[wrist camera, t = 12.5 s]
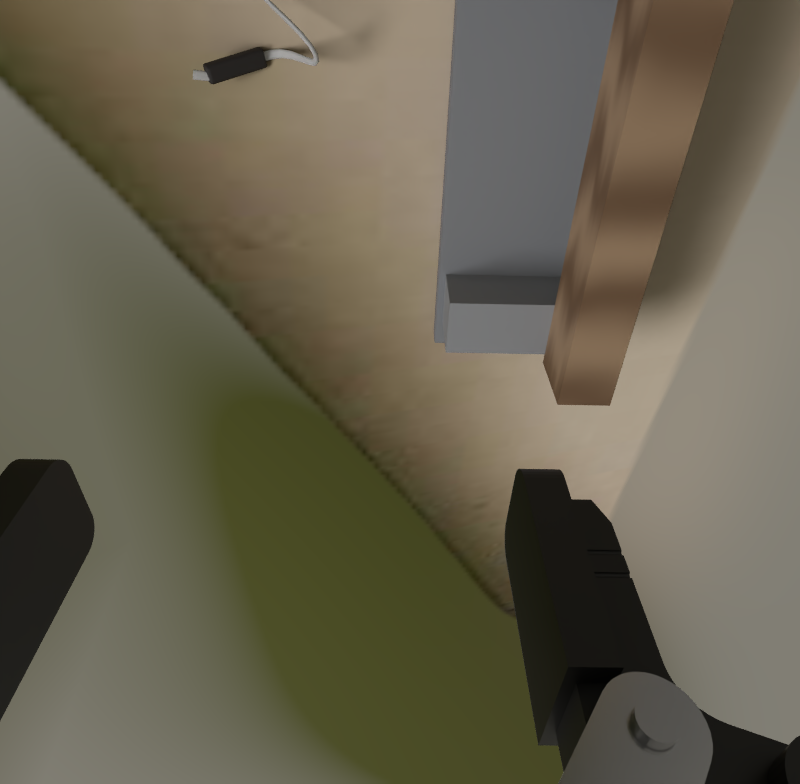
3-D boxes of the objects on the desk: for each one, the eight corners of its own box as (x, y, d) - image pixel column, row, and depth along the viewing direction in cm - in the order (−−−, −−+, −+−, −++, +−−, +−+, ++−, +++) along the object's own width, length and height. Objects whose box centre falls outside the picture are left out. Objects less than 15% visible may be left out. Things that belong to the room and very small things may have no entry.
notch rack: (466, -164, 30) (486, -202, 23) (714, -157, 30) (812, -192, 23) (433, 332, 48) (439, 399, 41) (589, 335, 48) (622, 402, 41)
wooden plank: (650, -159, 26) (696, -180, 22) (728, -156, 26) (788, -177, 22) (543, 362, 43) (557, 404, 39) (590, 363, 43) (609, 405, 39)
